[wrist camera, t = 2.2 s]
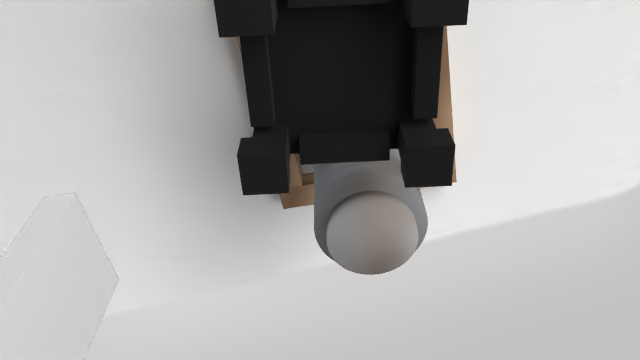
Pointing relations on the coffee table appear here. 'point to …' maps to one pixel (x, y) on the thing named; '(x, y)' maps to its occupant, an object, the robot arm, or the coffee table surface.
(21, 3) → the coffee table surface
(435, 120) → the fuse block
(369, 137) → the chess piece
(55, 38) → the coffee table surface
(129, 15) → the coffee table surface
